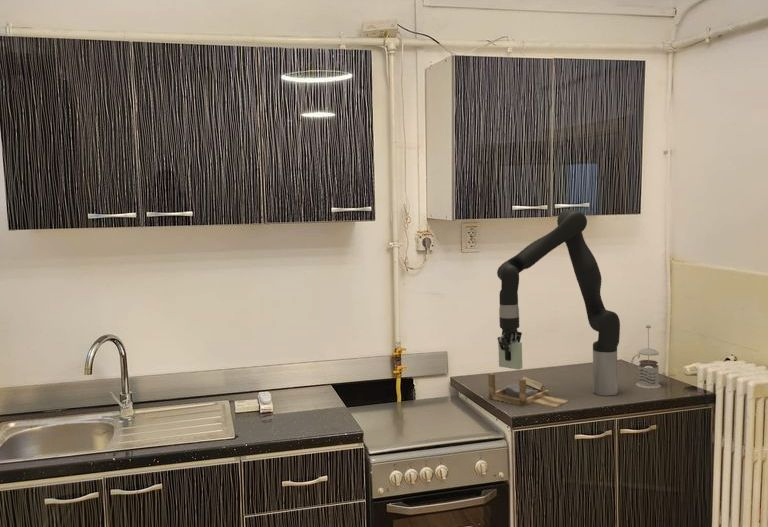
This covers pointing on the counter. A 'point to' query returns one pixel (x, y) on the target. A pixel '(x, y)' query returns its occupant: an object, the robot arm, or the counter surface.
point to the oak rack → (520, 401)
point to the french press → (643, 379)
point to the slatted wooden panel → (550, 401)
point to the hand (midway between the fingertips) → (510, 359)
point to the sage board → (515, 356)
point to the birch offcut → (534, 384)
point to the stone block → (518, 391)
